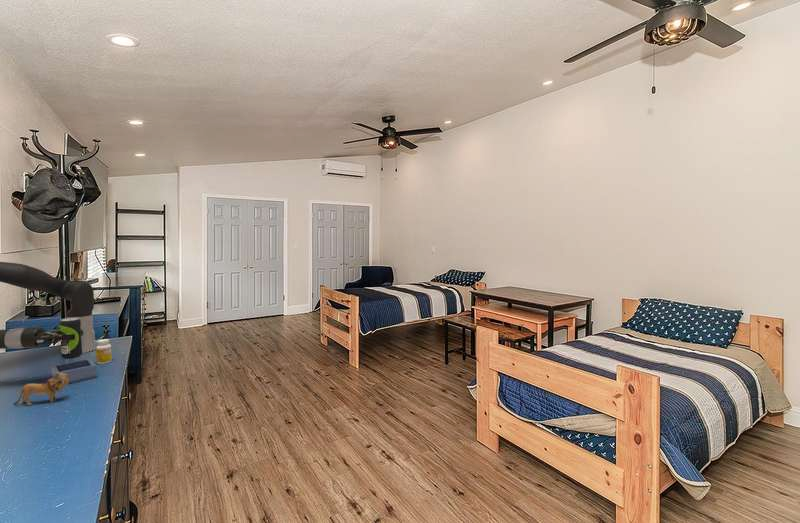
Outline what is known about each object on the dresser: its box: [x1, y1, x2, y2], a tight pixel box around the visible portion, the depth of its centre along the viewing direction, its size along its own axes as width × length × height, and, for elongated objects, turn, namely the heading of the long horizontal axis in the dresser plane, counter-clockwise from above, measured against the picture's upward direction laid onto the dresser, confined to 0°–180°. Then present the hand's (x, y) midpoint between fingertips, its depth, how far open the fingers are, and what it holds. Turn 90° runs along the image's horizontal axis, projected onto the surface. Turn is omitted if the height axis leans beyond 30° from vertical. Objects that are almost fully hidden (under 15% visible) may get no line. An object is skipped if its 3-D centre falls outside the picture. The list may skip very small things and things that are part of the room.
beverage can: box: [59, 317, 83, 360], centre depth 151 cm, size 6×6×15 cm
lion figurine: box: [12, 373, 69, 406], centre depth 131 cm, size 15×5×9 cm, turn 118°
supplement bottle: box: [95, 338, 113, 365], centre depth 171 cm, size 5×5×10 cm
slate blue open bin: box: [50, 358, 98, 385], centre depth 152 cm, size 12×12×5 cm
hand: (78, 334), depth 152 cm, fingers closed on beverage can, 5 cm apart
